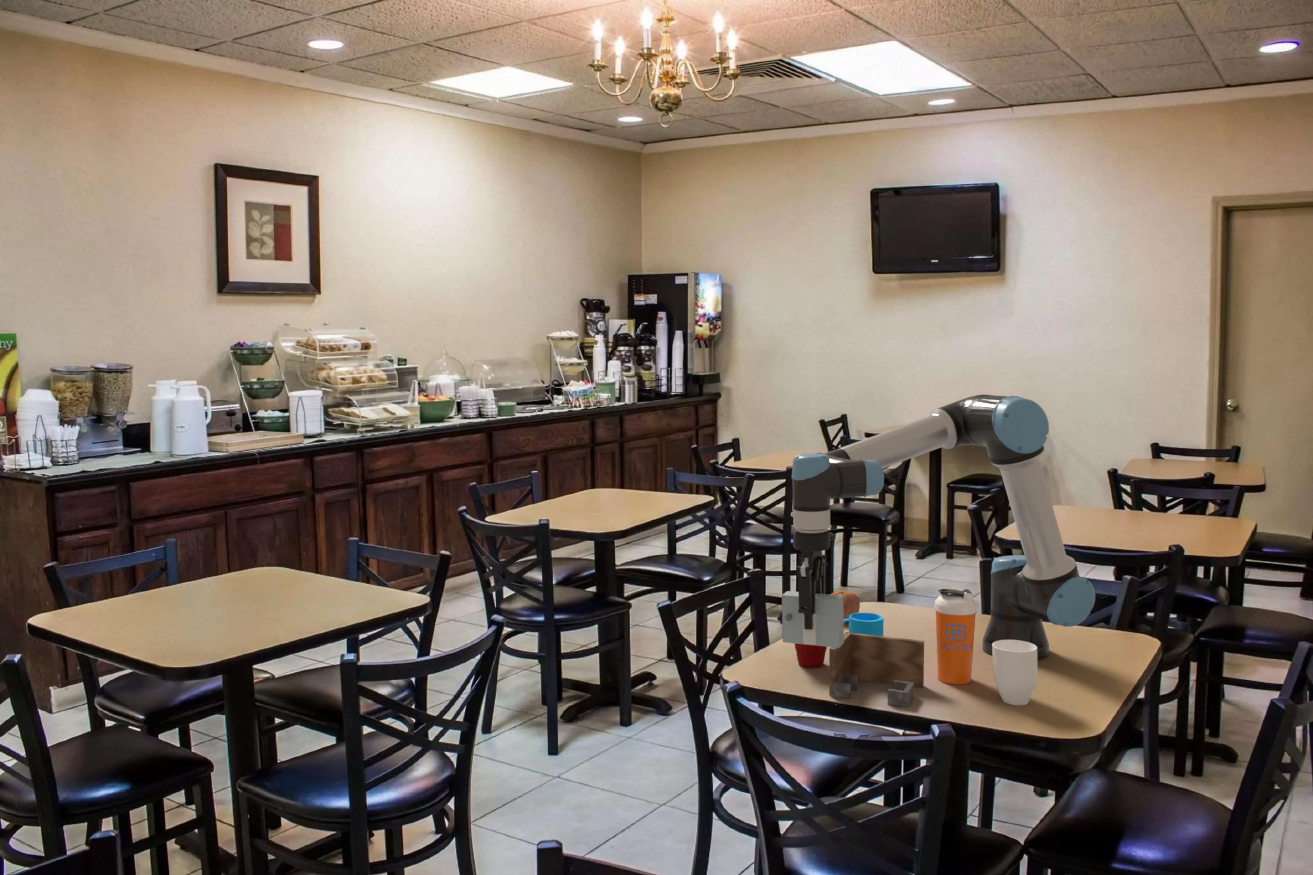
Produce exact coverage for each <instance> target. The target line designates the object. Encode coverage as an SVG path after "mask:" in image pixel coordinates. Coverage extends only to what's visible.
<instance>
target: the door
mask: <svg viewBox="0 0 1313 875" xmlns="http://www.w3.org/2000/svg"><path fill="white" fill-rule="evenodd" d="M781 608H782V609H781V610H782V611H781V612H782V613H781V614H782V617H781V619H782V643H786V644H787V643H789V644H795V643H796V644H803V613H798V610H799V591H791V590H787V591H785V592H784V593H782V595H781ZM815 613H816V616H817V644H816V646H826V647H828V648H831V647H836V648H840V647H841V646H842V645H843V643H844V634H845V630H844V624H845V623H844V615H843V595H830V594H827V593H825V594H818V593H815ZM806 645H811V644H806Z"/></svg>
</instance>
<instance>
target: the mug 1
mask: <svg viewBox="0 0 1313 875" xmlns="http://www.w3.org/2000/svg"><path fill="white" fill-rule="evenodd" d="M845 623H848V632H849V633H858V634H867V635H877V636H884V616H882V615H881V614H878V613H875V612H873V613H872V612H859V613H854V614H851V615H850V616H849V619H844V624H845Z"/></svg>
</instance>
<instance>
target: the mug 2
mask: <svg viewBox="0 0 1313 875" xmlns="http://www.w3.org/2000/svg"><path fill="white" fill-rule="evenodd" d="M991 656H992V676H993V680H994V683H995V685H996V688H997V691H998V693H999V695H1000V697H1001V699H1002V701H1003V702H1004V703H1005V704H1008V705H1012V706H1026V705H1027V704H1029V702H1030V700H1031V697H1032V696H1033V693H1034V690H1035V688H1036V686H1037V682H1038V659H1037V646H1036V645H1034V644H1032V643H1029V642H1025V641H1019V640H999V641H995V642H993V643H992V655H991Z"/></svg>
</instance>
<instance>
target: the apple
mask: <svg viewBox="0 0 1313 875" xmlns="http://www.w3.org/2000/svg"><path fill="white" fill-rule="evenodd" d="M830 595H843V615H844V619H849V616H850V615H851V614H854V613H860V607H861V603H860V598H859V597H858V595H857V594H856V593H855V591H852V590H837V591H834V592H832V593H831V594H830Z"/></svg>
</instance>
